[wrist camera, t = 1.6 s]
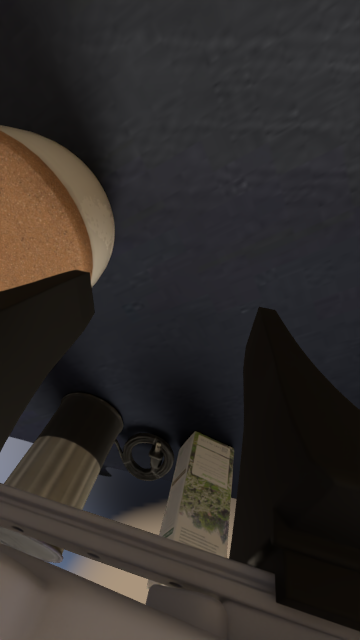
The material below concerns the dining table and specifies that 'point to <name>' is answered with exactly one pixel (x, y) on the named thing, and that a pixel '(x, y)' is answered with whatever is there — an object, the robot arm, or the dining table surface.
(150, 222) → the dining table surface
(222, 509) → the syrup box
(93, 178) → the trinket box
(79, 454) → the milk frother
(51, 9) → the dining table surface
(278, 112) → the dining table surface
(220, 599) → the robot arm
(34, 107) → the dining table surface
